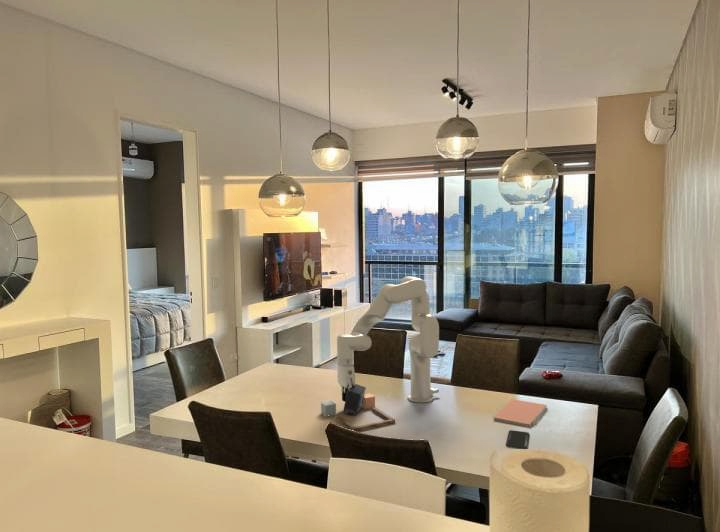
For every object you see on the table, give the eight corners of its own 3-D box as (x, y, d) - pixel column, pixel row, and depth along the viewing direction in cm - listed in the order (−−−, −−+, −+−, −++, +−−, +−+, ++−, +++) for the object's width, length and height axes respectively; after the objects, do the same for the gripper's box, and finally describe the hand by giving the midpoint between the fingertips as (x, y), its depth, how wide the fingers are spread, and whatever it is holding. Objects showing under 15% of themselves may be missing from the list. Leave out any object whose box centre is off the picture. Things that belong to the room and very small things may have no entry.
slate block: (331, 411, 236) (331, 400, 236) (336, 414, 232) (335, 403, 232) (321, 413, 234) (321, 402, 234) (325, 416, 230) (325, 405, 229)
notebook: (532, 429, 213) (532, 424, 213) (492, 421, 222) (492, 416, 222) (548, 409, 236) (549, 404, 236) (512, 402, 245) (512, 398, 245)
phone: (529, 432, 207) (527, 447, 193) (529, 435, 207) (527, 450, 193) (508, 429, 210) (505, 444, 196) (508, 432, 210) (505, 447, 196)
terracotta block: (369, 403, 246) (369, 393, 245) (375, 407, 241) (374, 396, 241) (360, 405, 243) (360, 395, 243) (365, 408, 239) (365, 398, 239)
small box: (356, 416, 230) (360, 393, 228) (342, 412, 231) (346, 390, 230) (362, 408, 240) (366, 386, 238) (349, 404, 241) (353, 383, 240)
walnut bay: (375, 410, 236) (375, 407, 236) (395, 423, 221) (395, 419, 220) (335, 418, 227) (335, 415, 227) (353, 432, 211) (353, 428, 211)
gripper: (360, 364, 233) (360, 404, 234) (345, 356, 246) (346, 394, 247) (345, 366, 229) (345, 406, 231) (331, 358, 243) (331, 397, 244)
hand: (345, 400), depth 239 cm, fingers closed
